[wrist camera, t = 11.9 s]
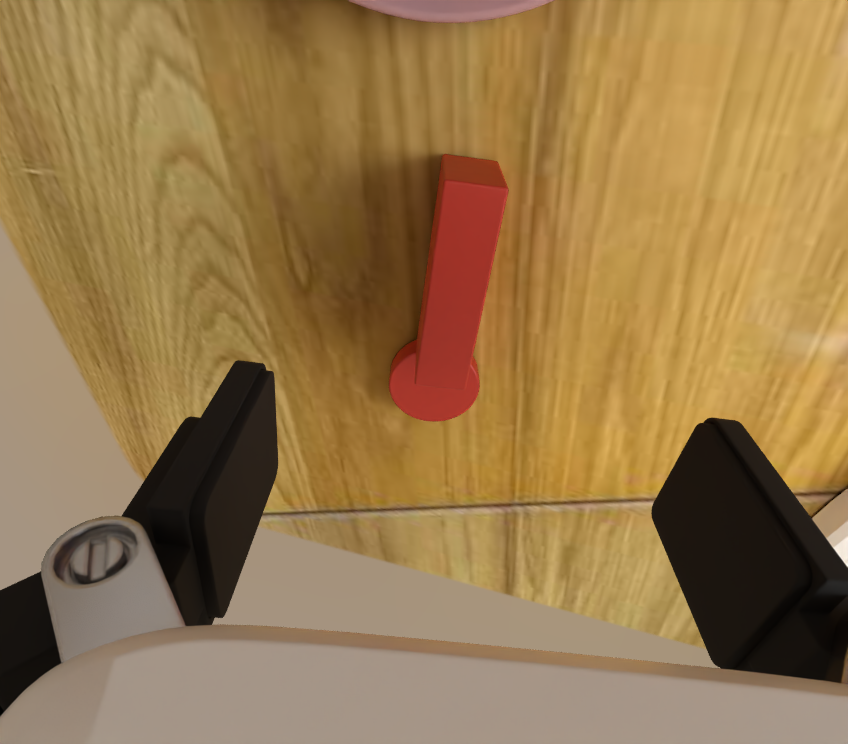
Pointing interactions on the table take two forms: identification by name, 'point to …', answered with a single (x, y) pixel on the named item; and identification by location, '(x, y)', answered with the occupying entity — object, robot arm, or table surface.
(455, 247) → the red spoon
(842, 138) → the table surface
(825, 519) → the decorative sculpture
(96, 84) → the table surface
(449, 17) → the plate
